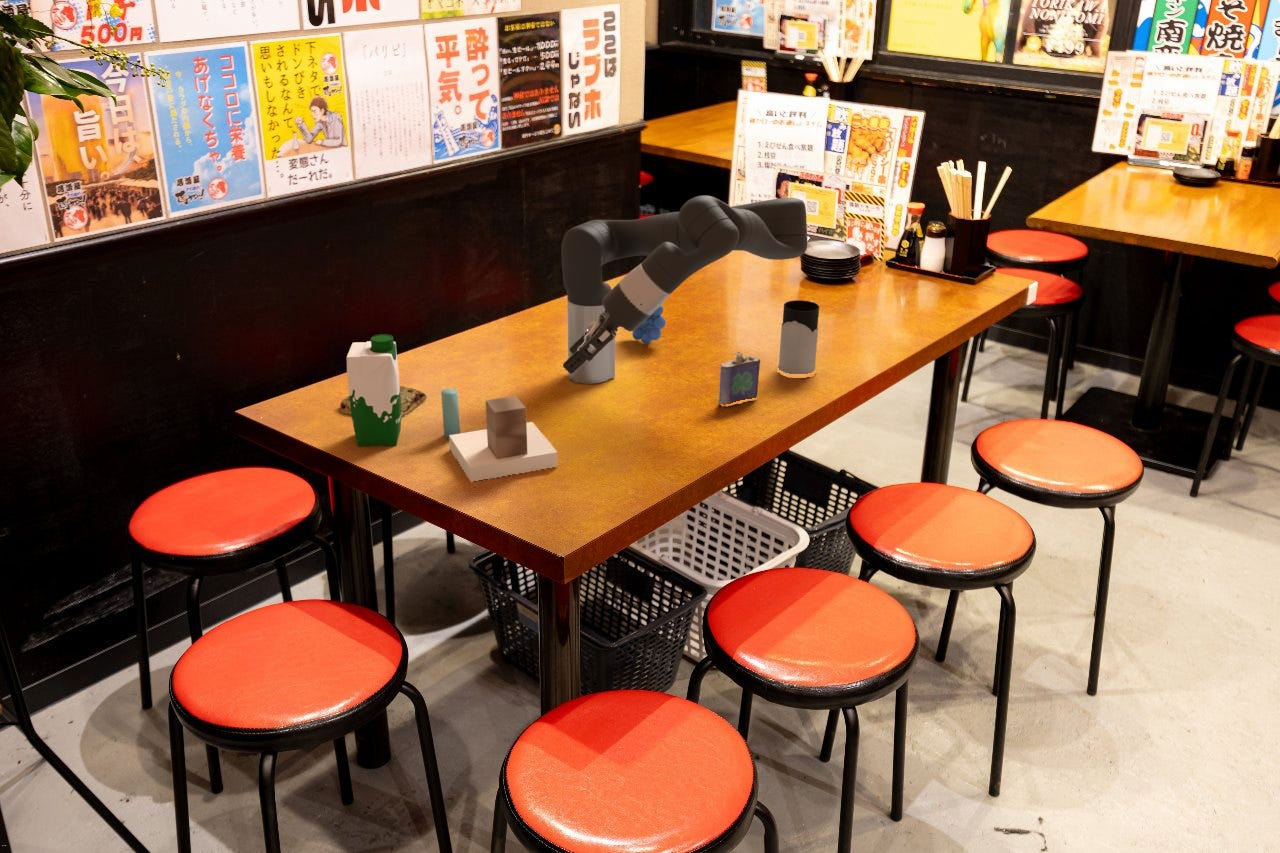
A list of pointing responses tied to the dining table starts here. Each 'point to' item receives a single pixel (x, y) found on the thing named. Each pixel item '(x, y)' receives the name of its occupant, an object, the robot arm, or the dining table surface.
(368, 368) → the milk carton
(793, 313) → the glass holder
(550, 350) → the dining table surface
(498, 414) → the grey brown block
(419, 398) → the pastry
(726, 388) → the flask
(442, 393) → the peg
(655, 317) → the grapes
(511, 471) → the board
